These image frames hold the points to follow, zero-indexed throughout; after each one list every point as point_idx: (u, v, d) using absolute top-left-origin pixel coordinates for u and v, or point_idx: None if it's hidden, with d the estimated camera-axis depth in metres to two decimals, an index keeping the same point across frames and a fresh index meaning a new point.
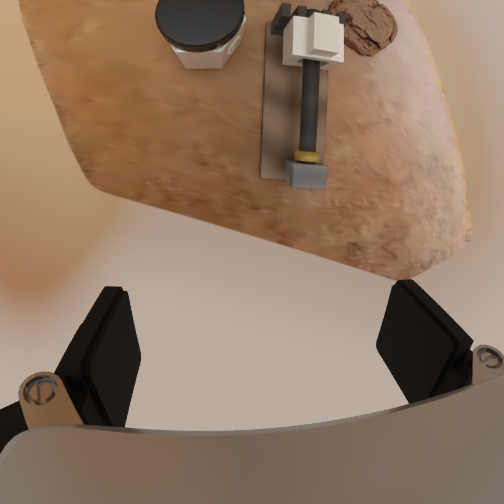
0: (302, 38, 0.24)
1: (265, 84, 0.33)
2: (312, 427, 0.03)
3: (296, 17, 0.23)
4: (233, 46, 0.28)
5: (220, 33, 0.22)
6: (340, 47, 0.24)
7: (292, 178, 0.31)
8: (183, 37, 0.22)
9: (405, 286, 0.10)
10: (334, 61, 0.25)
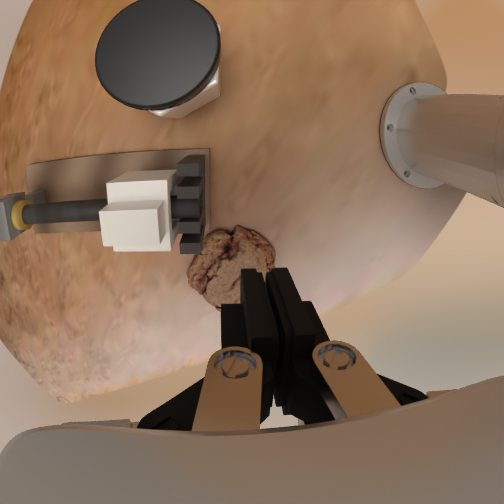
0: (132, 194, 0.20)
1: (119, 154, 0.27)
2: (312, 427, 0.03)
3: (164, 184, 0.20)
4: None
5: (110, 82, 0.15)
6: (133, 246, 0.22)
7: None
8: (110, 37, 0.14)
9: (276, 274, 0.10)
10: None
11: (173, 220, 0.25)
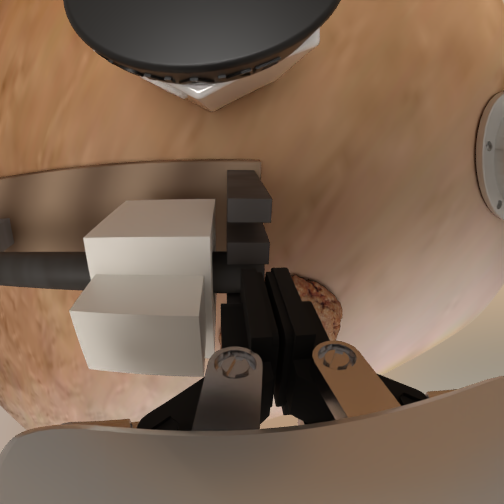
0: (136, 262, 0.10)
1: (115, 166, 0.17)
2: (312, 427, 0.03)
3: (204, 244, 0.10)
4: (156, 85, 0.12)
5: (91, 16, 0.05)
6: None
7: None
8: None
9: (276, 274, 0.10)
10: None
11: None
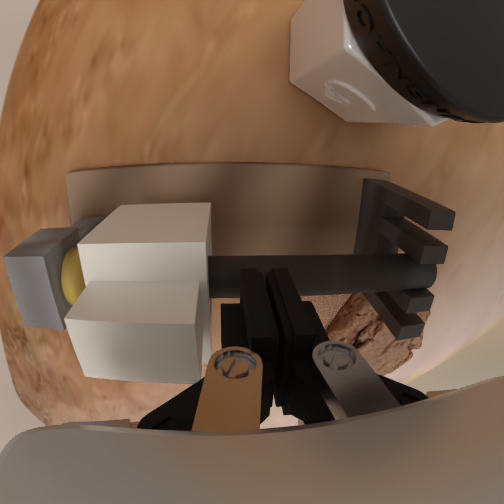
0: (131, 268, 0.10)
1: (254, 165, 0.18)
2: (312, 427, 0.03)
3: (200, 250, 0.10)
4: (347, 94, 0.12)
5: (416, 35, 0.06)
6: None
7: (20, 254, 0.10)
8: None
9: (276, 275, 0.10)
10: None
11: None
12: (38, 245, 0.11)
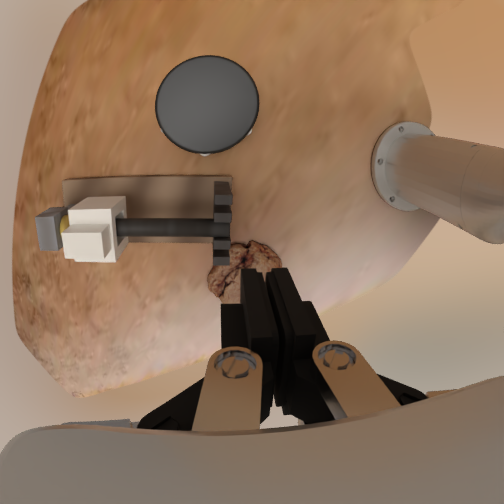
0: (86, 219, 0.25)
1: (153, 177, 0.33)
2: (312, 427, 0.03)
3: (109, 211, 0.25)
4: None
5: (169, 129, 0.22)
6: (88, 258, 0.27)
7: (42, 216, 0.25)
8: (168, 88, 0.20)
9: (276, 274, 0.10)
10: None
11: (121, 237, 0.30)
12: (50, 213, 0.26)
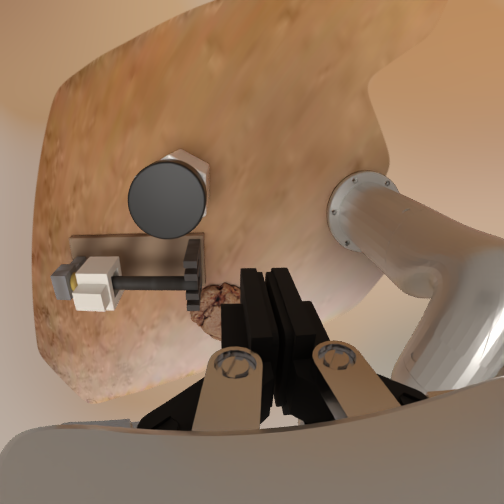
0: (89, 280, 0.34)
1: (141, 237, 0.42)
2: (312, 427, 0.03)
3: (105, 276, 0.34)
4: None
5: (140, 222, 0.30)
6: None
7: (56, 275, 0.34)
8: (136, 190, 0.29)
9: (276, 275, 0.10)
10: None
11: None
12: (62, 271, 0.35)
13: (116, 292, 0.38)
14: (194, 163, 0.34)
